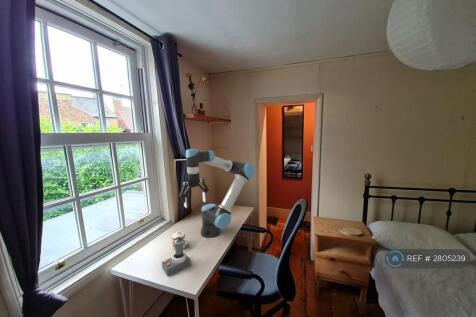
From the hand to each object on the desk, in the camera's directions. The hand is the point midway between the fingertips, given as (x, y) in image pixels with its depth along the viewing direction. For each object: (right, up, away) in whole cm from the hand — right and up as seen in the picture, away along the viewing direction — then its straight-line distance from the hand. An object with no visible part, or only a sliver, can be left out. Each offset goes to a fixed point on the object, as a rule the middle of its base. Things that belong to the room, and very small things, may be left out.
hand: (195, 204), depth 128 cm
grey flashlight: (-7, -31, -11) cm, 33 cm away
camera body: (-9, -35, -11) cm, 38 cm away
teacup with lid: (-12, -33, +8) cm, 36 cm away
